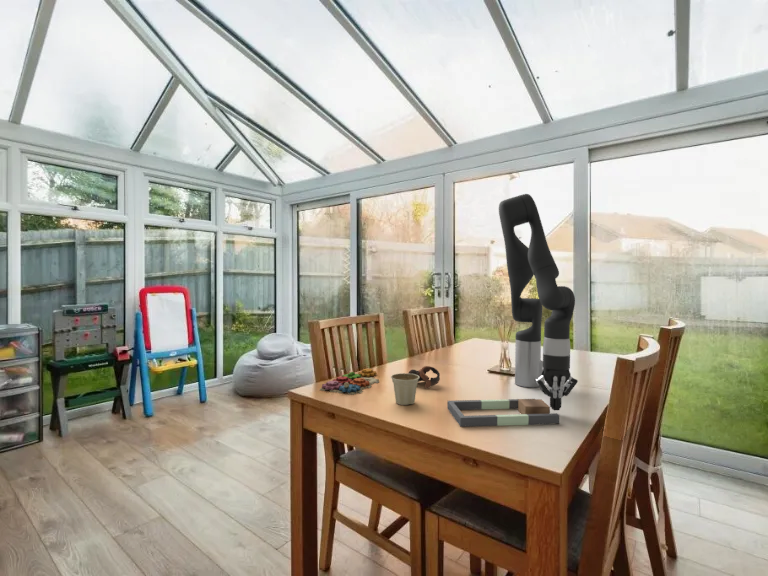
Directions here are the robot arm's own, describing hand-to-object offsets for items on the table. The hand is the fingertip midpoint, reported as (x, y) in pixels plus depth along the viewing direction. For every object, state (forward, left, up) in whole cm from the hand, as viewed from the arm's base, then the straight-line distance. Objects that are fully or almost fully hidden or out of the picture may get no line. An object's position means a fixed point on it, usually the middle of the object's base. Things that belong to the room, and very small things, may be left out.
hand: (555, 409), depth 120 cm
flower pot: (+44, -15, -2) cm, 46 cm away
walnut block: (+7, 0, -2) cm, 7 cm away
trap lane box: (+16, 0, -2) cm, 16 cm away
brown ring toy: (+34, -34, -2) cm, 48 cm away
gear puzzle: (+59, -41, -2) cm, 72 cm away
